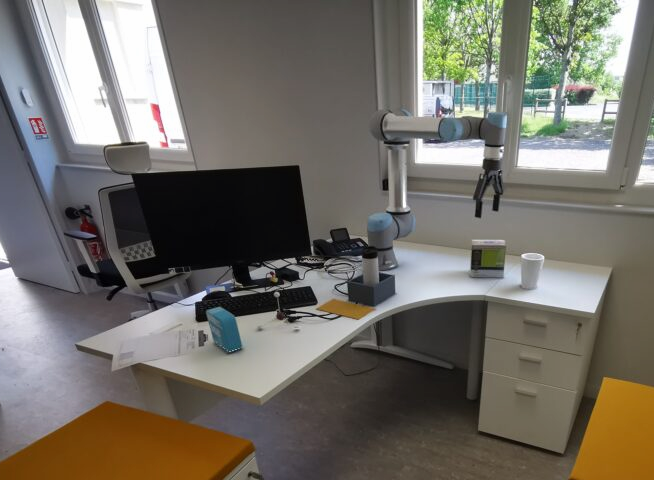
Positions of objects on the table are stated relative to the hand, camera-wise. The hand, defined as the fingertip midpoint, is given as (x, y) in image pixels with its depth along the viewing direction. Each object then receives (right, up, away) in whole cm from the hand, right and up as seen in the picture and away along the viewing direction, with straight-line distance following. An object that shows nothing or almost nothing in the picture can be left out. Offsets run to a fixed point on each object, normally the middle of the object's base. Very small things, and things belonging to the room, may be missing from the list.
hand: (486, 214), depth 190 cm
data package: (-91, -59, -41) cm, 116 cm away
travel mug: (-48, -36, -5) cm, 60 cm away
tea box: (+3, -21, +19) cm, 28 cm away
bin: (-48, -36, -5) cm, 60 cm away
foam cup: (+19, -29, +5) cm, 35 cm away
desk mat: (-57, -43, -15) cm, 73 cm away
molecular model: (-79, -51, -28) cm, 98 cm away
